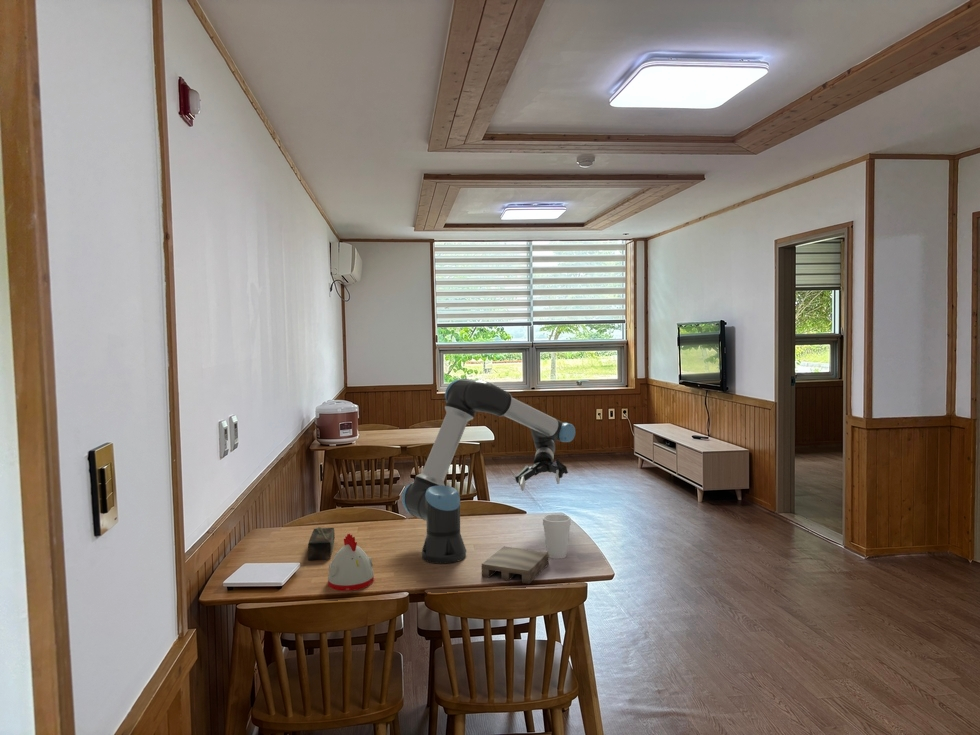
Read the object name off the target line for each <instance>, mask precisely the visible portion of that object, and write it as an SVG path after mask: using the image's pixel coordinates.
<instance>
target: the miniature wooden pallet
mask: <svg viewBox="0 0 980 735" xmlns="http://www.w3.org/2000/svg"><path fill="white" fill-rule="evenodd" d="M549 558H550V557H549V556H548V552H547V551H541V550H534V549H526V548H520V547H519V548H518V547H512V546H511V547H510V546H502V547H501V548H500V549H498V551H496V552H495V553H494V554H492V555H490V557H489V558H487V559H486V560H484V562H482V563H481V577H484V578H490V577H491V576H492V575H493V574H495V573H496V572H501V580H503V581H510V580H511V579H512V578H513V577H515V576H516V575H521V583H522V584H528V585H529V584H531V583H532V581H533V580H535V579H536V578H537V577H538V576H539V575H540V574H541V573H542V572H543V570H545V568H546V567H548V566H549Z"/></svg>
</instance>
